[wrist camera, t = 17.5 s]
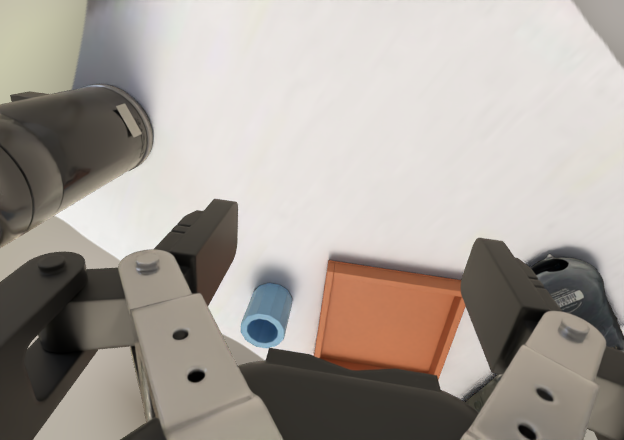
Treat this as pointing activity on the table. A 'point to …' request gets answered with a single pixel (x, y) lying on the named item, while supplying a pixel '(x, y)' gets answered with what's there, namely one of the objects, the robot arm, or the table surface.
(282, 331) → the blue hollow tube
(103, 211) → the table surface
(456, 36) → the table surface
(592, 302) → the electronic device
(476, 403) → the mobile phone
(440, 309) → the tray
